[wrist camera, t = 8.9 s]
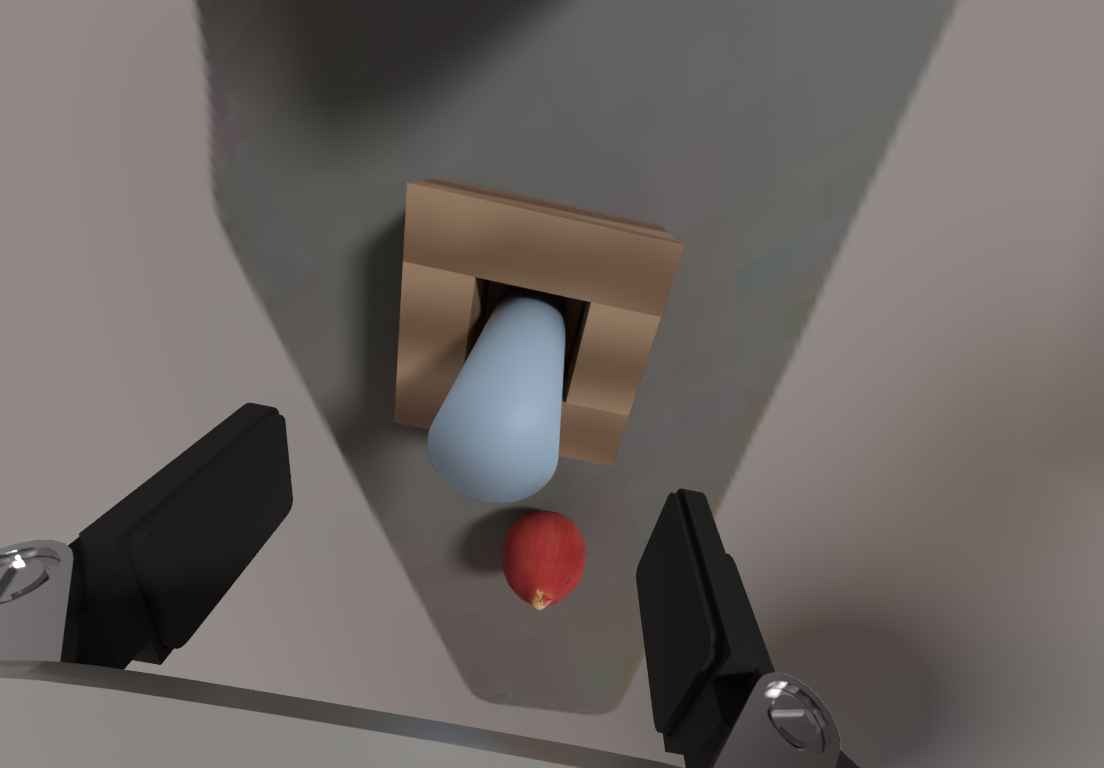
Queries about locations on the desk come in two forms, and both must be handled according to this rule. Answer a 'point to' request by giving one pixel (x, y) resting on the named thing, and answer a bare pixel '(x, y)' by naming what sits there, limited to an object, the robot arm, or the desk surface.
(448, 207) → the bore block
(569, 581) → the onion
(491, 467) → the pin
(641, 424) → the desk surface
